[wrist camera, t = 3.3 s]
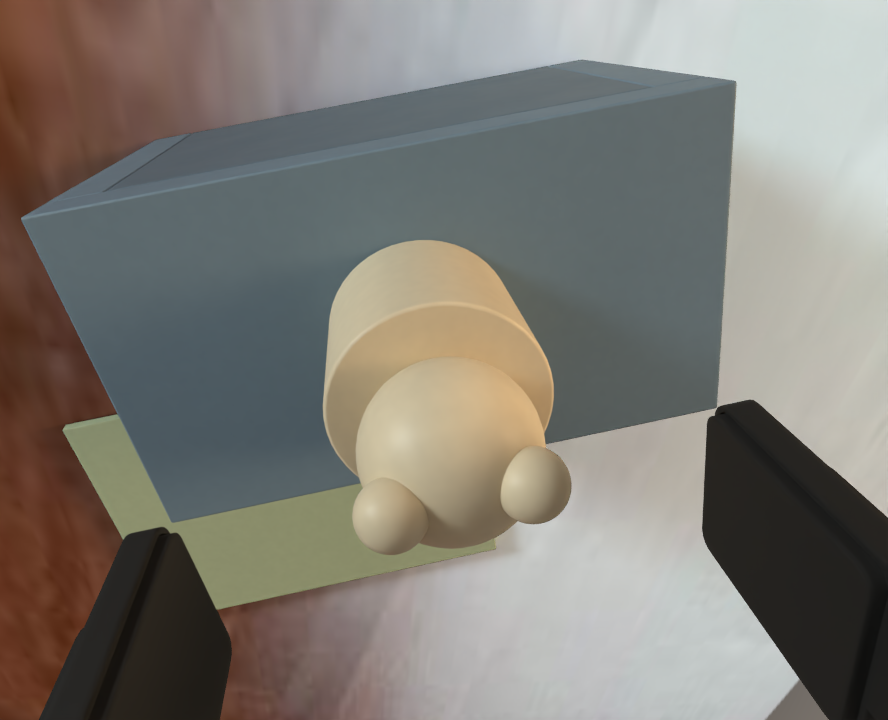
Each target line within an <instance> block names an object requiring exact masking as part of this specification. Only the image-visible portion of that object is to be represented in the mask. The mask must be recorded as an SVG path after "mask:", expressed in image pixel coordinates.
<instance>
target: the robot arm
mask: <svg viewBox="0 0 888 720" xmlns="http://www.w3.org/2000/svg"><path fill="white" fill-rule="evenodd" d="M702 531H703V537H704V540H705V543H706V545H707V547H708V549H709V550H710V552H711V553H712V555H713V556H714V558H715V559H716V560H717V562H718V563H719V565H720V566H721V568H722V569H723V570H724V572H725V573H726V575H727V576H728V578H729V579H730V580H731V582H732V583H733V585H734V586H735V588H736V589H737V590H738V592H739V593H740V595H741V596H742V597H743V599H744V600H745V602H746V603H747V605H748V606H749V607H750V609H751V610H752V612H753V613H754V615H755V616H756V617H757V619H758V620H759V622H760V623H761V625H762V626H763V627H764V629H765V630H766V632H767V633H768V634H769V636H770V637H771V639H772V640H773V642H774V643H775V644H776V646H777V647H778V649H779V650H780V652H781V653H782V654H783V656H784V657H785V659H786V660H787V662H788V663H789V664H790V666H791V667H792V669H793V670H794V671H795V673H796V674H797V676H798V677H799V679H800V680H801V681H802V683H803V684H804V685H805V687H806V689H807V690H808V691H809V693H810V694H811V696H812V697H813V699H814V700H815V701H816V703H817V704H818V705H819V707H820V708H821V710H822V711H823V712H824V714H825V715H826V717H827V718H828V719H829V720H888V518H887V517H886V516H885V515H884V514H883V513H882V512H881V511H880V510H878V509H877V508H876V507H875V506H874V505H873V504H872V503H871V502H870V501H868V500H867V499H866V498H865V497H864V496H863V495H862V494H861V493H859V492H858V491H857V490H856V489H855V488H854V487H853V486H852V485H850V484H849V483H848V482H847V481H846V480H845V479H844V478H843V477H842V476H840V475H839V474H838V473H837V472H836V471H835V470H833V469H832V468H831V467H829V466H828V465H827V464H825V463H824V462H823V461H822V460H821V459H820V458H819V457H818V456H816V455H815V454H814V453H813V452H812V451H811V450H810V449H809V448H808V447H806V446H805V445H804V444H803V443H802V442H801V441H800V440H799V439H798V438H796V437H795V436H794V435H793V434H792V433H791V432H790V431H789V430H787V429H786V428H785V427H784V426H783V425H782V424H781V423H780V422H779V421H777V420H776V419H775V418H774V417H773V416H772V415H771V414H770V413H768V412H767V411H766V410H765V409H764V408H763V407H762V406H761V405H760V404H758V403H757V402H755V401H754V400H746V401H741V402H737V403H732V404H727V405H723V406H720V407H718V408H717V410H716V412H715V416H711V417H709V419H708V422H707V437H706V459H705V480H704V502H703V524H702ZM231 655H232V648H231V641H230V637H229V634H228V632H227V630H226V628H225V626H224V624H223V622H222V620H221V618H220V616H219V614H218V612H217V610H216V608H215V605H214V603H213V601H212V599H211V597H210V595H209V593H208V591H207V589H206V587H205V585H204V583H203V581H202V579H201V577H200V575H199V572H198V570H197V568H196V566H195V564H194V562H193V560H192V558H191V556H190V554H189V552H188V550H187V548H186V546H185V544H184V542H183V540H182V538H181V536H180V535H179V534H178V533H171V534H170V532H169V531H168V529H166V528H165V527H158V528H153V529H148V530H144V531H139V532H134V533H130V534H128V535H127V536H126V537H125V538H124V540H123V542H122V544H121V546H120V548H119V551H118V553H117V555H116V557H115V560H114V562H113V564H112V566H111V569H110V571H109V573H108V575H107V577H106V580H105V582H104V584H103V586H102V589H101V591H100V593H99V595H98V598H97V600H96V602H95V604H94V607H93V609H92V611H91V613H90V616H89V618H88V620H87V622H86V624H85V627H84V628H83V629H82V630H81V631H80V633H79V634H78V636H77V637H76V639H75V641H74V644H73V646H72V648H71V650H70V652H69V655H68V657H67V659H66V661H65V663H64V666H63V668H62V670H61V672H60V674H59V677H58V679H57V681H56V683H55V685H54V688H53V690H52V692H51V694H50V697H49V699H48V701H47V703H46V705H45V708H44V710H43V712H42V714H41V716H40V719H39V720H220V715H221V710H222V704H223V699H224V694H225V688H226V683H227V678H228V672H229V667H230V662H231Z"/></svg>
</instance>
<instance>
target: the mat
mask: <svg viewBox="0 0 888 720" xmlns="http://www.w3.org/2000/svg"><path fill="white" fill-rule="evenodd" d="M63 432H64V434H65V436H66V437H67V439H68V441H69V443H70V445H71V446H72V448H73V450H74V452H75V454H76V455H77V457H78V459H79V461H80V463H81V464H82V466H83V468H84V470H85V472H86V473H87V475H88V477H89V479H90V481H91V482H92V484H93V486H94V488H95V490H96V491H97V493H98V495H99V497H100V499H101V500H102V502H103V504H104V506H105V508H106V509H107V511H108V513H109V515H110V517H111V518H112V520H113V522H114V524H115V526H116V527H117V529H118V531H119V533H120V535H121V536H122V538H123V540H124V538H125V537H126V536H127V535H128V534H130V533H134V532H139V531H144V530H148V529H153V528H158V527H165V528H166V529H168V531H169V532H170V534H171V533H178V534H179V535H180V536H181V538H182V540H183V542H184V544H185V546H186V548H187V550H188V552H189V554H190V556H191V558H192V560H193V562H194V564H195V566H196V568H197V570H198V572H199V575H200V577H201V579H202V581H203V583H204V585H205V587H206V589H207V591H208V593H209V595H210V597H211V599H212V601H213V603H214V605H215V608H216V610H218V609H222V608H227V607H232V606H236V605H241V604H245V603H250V602H255V601H259V600H264V599H268V598H273V597H278V596H282V595H287V594H291V593H296V592H301V591H305V590H310V589H314V588H319V587H324V586H328V585H333V584H337V583H342V582H347V581H351V580H356V579H360V578H365V577H370V576H374V575H379V574H383V573H388V572H393V571H397V570H402V569H406V568H411V567H416V566H420V565H425V564H429V563H434V562H439V561H443V560H448V559H452V558H457V557H462V556H466V555H471V554H475V553H480V552H485V551H489V550H494V549H496V545H495V539H494V538H493V539H491V540H489V541H487V542H484V543H482V544H479V545H475V546H471V547H466V548H456V549H446V548H437V547H432V546H427V545H423V544H420V543H418V544H417V545H416V546H415V547H414V548H412V549H410V550H409V551H407V552H404V553H402V554H397V555H384V554H380V553H377V552H374V551H372V550H371V549H369V548H368V547H367V546H365V545H364V544H363V543H362V541H361V540H360V539H359V537H358V536H357V534H356V532H355V529H354V526H353V520H352V512H353V506H354V503H355V500H356V498H357V496H358V494H359V493H360V491H361V490H362V489H363V488H362V485H361V483H360V484H355V485H350V486H346V487H341V488H336V489H331V490H327V491H322V492H317V493H312V494H308V495H303V496H298V497H294V498H289V499H284V500H279V501H275V502H270V503H265V504H260V505H256V506H251V507H246V508H242V509H237V510H232V511H227V512H223V513H218V514H213V515H209V516H204V517H199V518H194V519H190V520H185V521H180V522H175V523H172V522H171V521H170V519H169V517H168V515H167V513H166V511H165V509H164V507H163V504H162V502H161V500H160V498H159V496H158V494H157V492H156V490H155V488H154V486H153V484H152V482H151V480H150V478H149V476H148V474H147V472H146V470H145V468H144V466H143V464H142V462H141V460H140V458H139V456H138V454H137V452H136V450H135V448H134V446H133V444H132V442H131V440H130V438H129V436H128V434H127V432H126V430H125V428H124V426H123V424H122V422H121V420H120V418H119V416H118V414H117V415H112V416H107V417H102V418H97V419H92V420H87V421H82V422H78V423H73V424H68V425H66V426H65V427H64V429H63Z"/></svg>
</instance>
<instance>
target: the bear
mask: <svg viewBox="0 0 888 720" xmlns="http://www.w3.org/2000/svg"><path fill="white" fill-rule="evenodd" d="M553 400H554V384H553V378H552V372H551V369H550V366H549V363H548V360H547V358H546V356H545V354H544V352H543V350H542V348H541V347H540V345H539V343H538V342H537V340H536V338H535V337H534V335H533V333H532V332H531V330H530V328H529V326H528V325H527V323H526V321H525V320H524V318H523V316H522V315H521V313H520V311H519V310H518V308H517V306H516V305H515V303H514V301H513V299H512V298H511V296H510V294H509V293H508V291H507V289H506V288H505V286H504V284H503V283H502V281H501V279H500V278H499V277H498V275H497V274H496V272H495V271H494V270H493V269H492V268H491V267H490V266H489V265H488V264H487V263H486V262H485V261H484V260H482V259H481V258H480V257H478V256H477V255H475V254H474V253H472V252H470V251H469V250H467V249H464V248H462V247H460V246H457V245H454V244H451V243H447V242H442V241H435V240H414V241H407V242H402V243H398V244H395V245H391V246H389V247H386V248H384V249H382V250H379V251H378V252H376V253H374V254H372V255H371V256H369V257H368V258H366V259H365V260H364V261H362V262H361V263H360V264H359V265H358V266H357V267H355V268H354V269H353V270H352V271H351V272H350V274H349V275H348V276H347V278H346V279H345V280H344V281H343V283H342V285H341V286H340V288H339V290H338V292H337V294H336V296H335V299H334V301H333V304H332V308H331V312H330V319H329V330H328V344H327V357H326V370H325V383H324V396H323V419H324V424H325V428H326V432H327V435H328V438H329V440H330V443H331V445H332V447H333V448H334V450H335V452H336V453H337V455H338V456H339V458H340V459H341V460H342V461H343V463H344V464H345V465H346V466H347V467H348V468H349V469H350V470H351V471H352V472H353V473H354V474H355V475H356V476H358V477H359V479H360V482H361V485H362V488H363V489H362V490H361V491H360V493H359V494H358V496H357V498H356V500H355V503H354V506H353V512H352V520H353V526H354V529H355V532H356V534H357V536H358V537H359V539H360V540H361V541H362V543H363V544H364V545H365V546H367V547H368V548H369V549H371V550H372V551H374V552H377V553H380V554H384V555H397V554H402V553H404V552H407V551H409V550H410V549H412V548H414V547H415V546H416V545H417V544H418V543H420V544H423V545H427V546H432V547H437V548H446V549H456V548H466V547H471V546H475V545H479V544H482V543H484V542H487V541H489V540H491V539H493V538H495V537H497V536H499V535H500V534H502V533H504V532H505V531H506V530H508V529H509V528H510V527H511V526H513V525H514V524H515V523H516V522H517V521H519V522H522V523H526V524H541V523H545V522H548V521H550V520H552V519H553V518H555V517H556V516H558V515H559V514H560V513H561V512H562V511H563V509H564V508H565V506H566V505H567V503H568V501H569V498H570V494H571V478H570V474H569V471H568V469H567V467H566V465H565V463H564V462H563V461H562V459H561V458H560V457H559V456H558V455H556V454H555V453H554V452H552V451H551V450H548V449H546V444H545V437H544V433H545V430H546V428H547V426H548V423H549V420H550V416H551V413H552V407H553Z"/></svg>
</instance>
